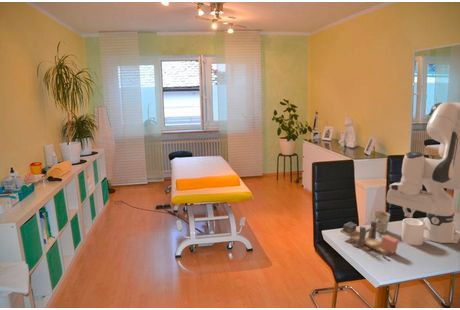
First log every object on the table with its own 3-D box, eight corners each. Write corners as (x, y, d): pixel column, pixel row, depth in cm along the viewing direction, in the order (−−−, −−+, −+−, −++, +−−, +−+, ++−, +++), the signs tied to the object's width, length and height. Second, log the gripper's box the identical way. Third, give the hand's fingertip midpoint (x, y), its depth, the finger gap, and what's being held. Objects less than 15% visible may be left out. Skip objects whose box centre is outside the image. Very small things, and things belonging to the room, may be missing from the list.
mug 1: (390, 229, 197) (391, 213, 195) (383, 237, 188) (384, 220, 186) (375, 226, 203) (376, 210, 201) (367, 233, 193) (369, 216, 191)
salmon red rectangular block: (380, 247, 172) (382, 236, 171) (384, 245, 175) (386, 234, 173) (392, 253, 168) (394, 242, 166) (396, 250, 170) (398, 239, 169)
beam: (339, 232, 187) (341, 221, 185) (348, 228, 192) (350, 217, 190) (385, 255, 168) (388, 243, 166) (394, 249, 173) (397, 237, 171)
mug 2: (430, 240, 184) (432, 221, 182) (430, 248, 175) (432, 228, 173) (401, 235, 191) (403, 216, 188) (400, 242, 182) (402, 223, 180)
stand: (353, 245, 179) (354, 225, 177) (366, 238, 187) (367, 218, 185) (384, 257, 167) (386, 236, 164) (397, 249, 175) (399, 228, 172)
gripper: (438, 191, 153) (435, 221, 155) (392, 182, 168) (390, 209, 171) (432, 194, 149) (429, 225, 151) (385, 184, 164) (383, 212, 167)
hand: (408, 216), depth 161 cm, fingers closed
